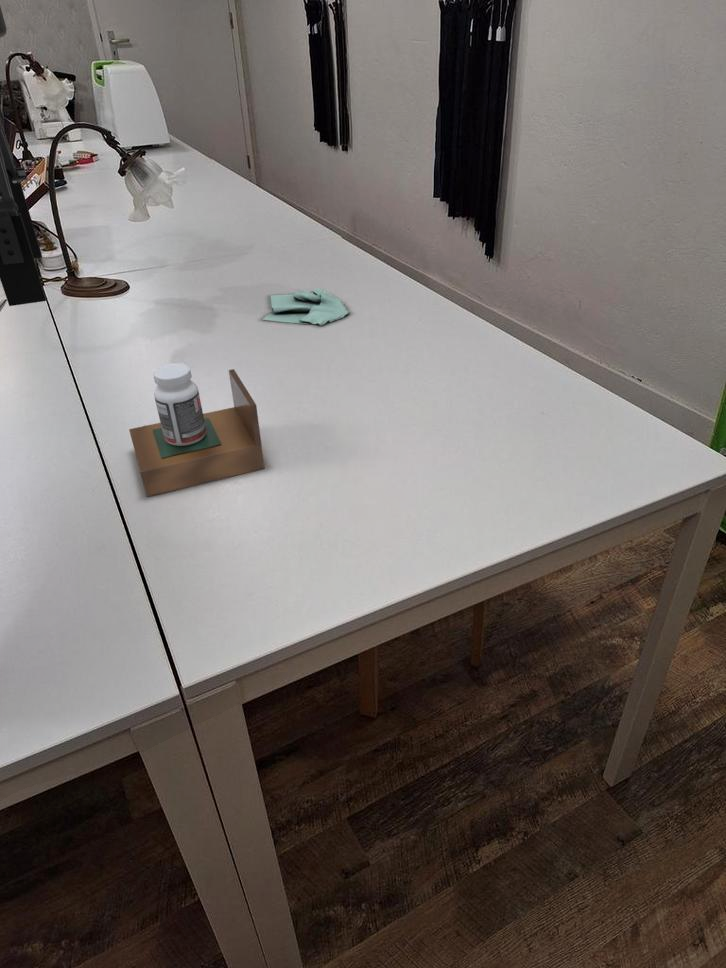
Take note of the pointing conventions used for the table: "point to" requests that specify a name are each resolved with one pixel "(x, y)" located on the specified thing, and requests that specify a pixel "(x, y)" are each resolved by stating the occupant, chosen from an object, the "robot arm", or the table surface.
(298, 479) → the table surface
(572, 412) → the table surface
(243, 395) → the shelf
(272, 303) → the cloth
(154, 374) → the pill bottle
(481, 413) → the table surface
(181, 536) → the table surface
